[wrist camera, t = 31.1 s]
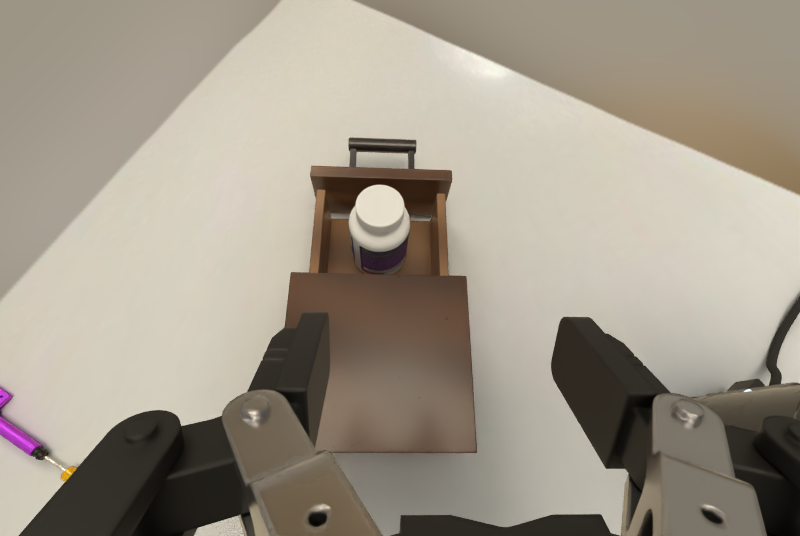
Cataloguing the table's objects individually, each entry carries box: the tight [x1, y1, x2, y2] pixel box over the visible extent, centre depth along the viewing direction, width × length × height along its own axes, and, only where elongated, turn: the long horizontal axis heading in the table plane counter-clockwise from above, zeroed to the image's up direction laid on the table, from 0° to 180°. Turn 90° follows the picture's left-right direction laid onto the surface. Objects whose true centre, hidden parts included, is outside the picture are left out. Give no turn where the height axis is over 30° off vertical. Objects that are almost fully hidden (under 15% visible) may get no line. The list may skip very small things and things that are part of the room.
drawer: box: [309, 138, 452, 276], centre depth 42 cm, size 18×13×7 cm
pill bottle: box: [349, 185, 410, 274], centre depth 38 cm, size 5×5×10 cm
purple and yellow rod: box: [0, 388, 77, 482], centre depth 36 cm, size 3×1×16 cm
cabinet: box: [285, 272, 477, 453], centre depth 36 cm, size 14×15×9 cm
